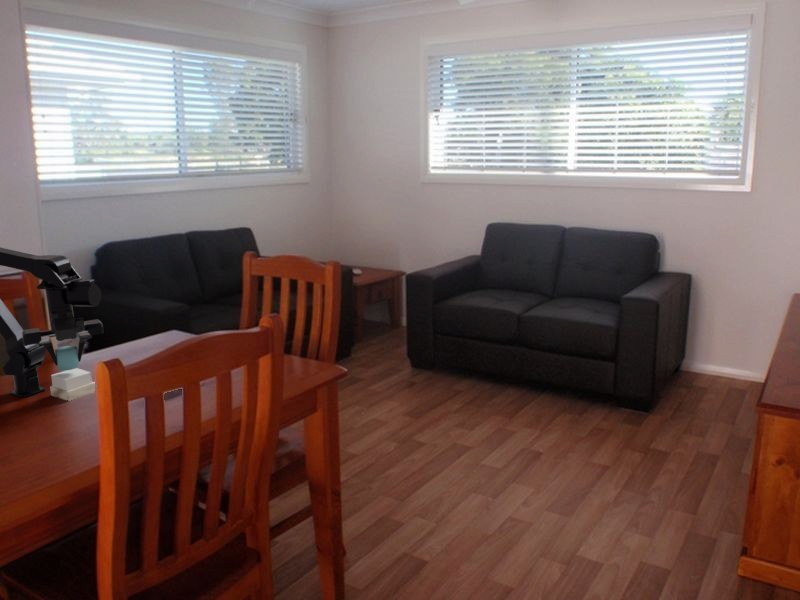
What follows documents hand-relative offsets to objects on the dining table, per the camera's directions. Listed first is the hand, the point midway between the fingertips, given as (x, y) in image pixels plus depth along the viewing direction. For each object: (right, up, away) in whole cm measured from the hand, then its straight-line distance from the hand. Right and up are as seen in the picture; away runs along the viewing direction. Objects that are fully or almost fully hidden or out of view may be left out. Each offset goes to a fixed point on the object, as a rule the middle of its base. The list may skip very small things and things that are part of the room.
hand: (67, 363), depth 185 cm
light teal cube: (0, -1, 0) cm, 1 cm away
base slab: (+1, -9, +3) cm, 9 cm away
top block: (0, -6, +2) cm, 6 cm away
